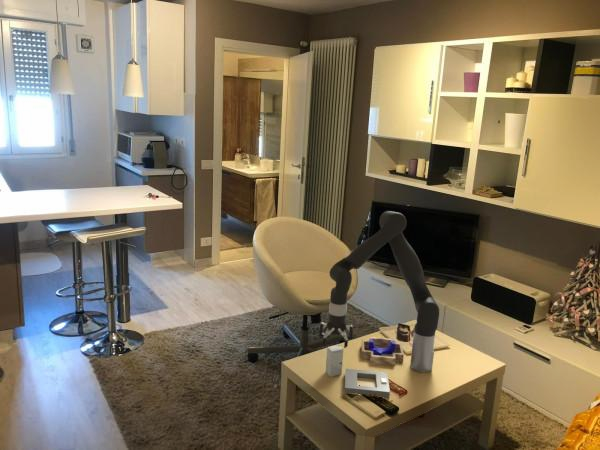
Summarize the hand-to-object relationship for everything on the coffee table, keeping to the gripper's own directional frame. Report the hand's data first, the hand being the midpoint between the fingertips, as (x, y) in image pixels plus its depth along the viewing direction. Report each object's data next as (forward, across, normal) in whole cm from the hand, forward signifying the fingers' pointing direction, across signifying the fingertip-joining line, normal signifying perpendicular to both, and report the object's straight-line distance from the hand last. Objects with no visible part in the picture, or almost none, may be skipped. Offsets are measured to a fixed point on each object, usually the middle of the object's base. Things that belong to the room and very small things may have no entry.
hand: (334, 346), depth 215 cm
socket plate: (+13, -14, +8) cm, 21 cm away
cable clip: (+13, -22, -22) cm, 34 cm away
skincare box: (+13, 0, 0) cm, 13 cm away
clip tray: (+12, -22, -21) cm, 33 cm away
